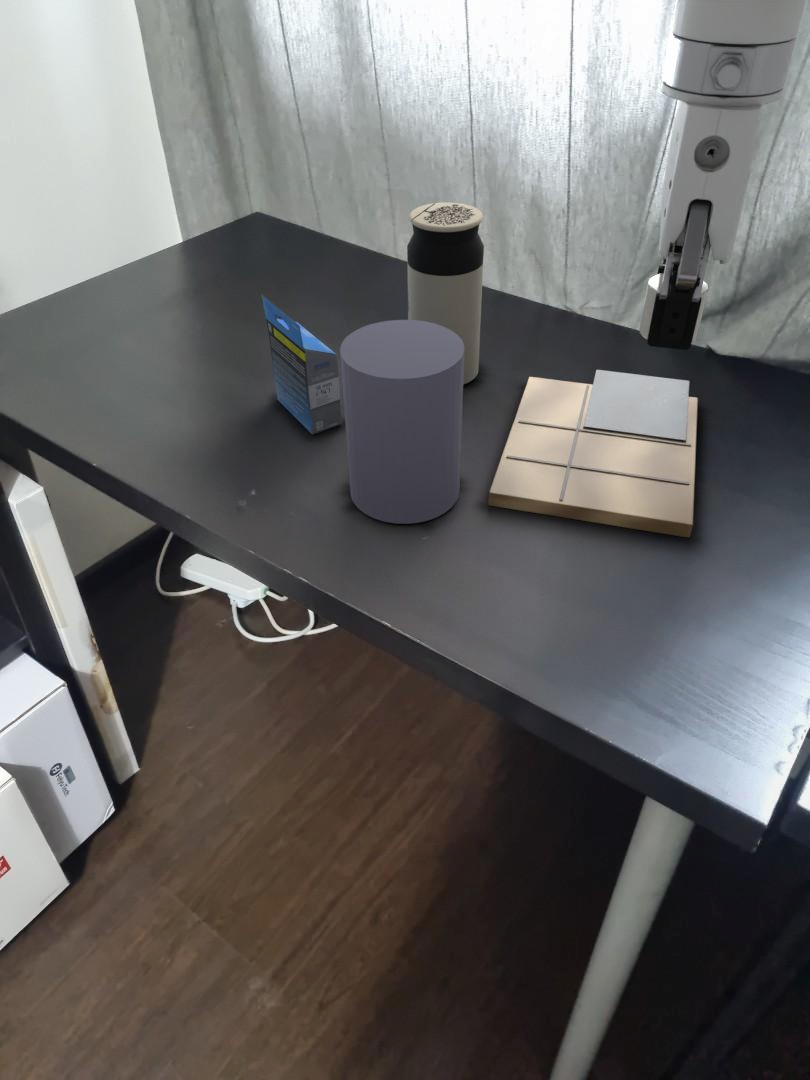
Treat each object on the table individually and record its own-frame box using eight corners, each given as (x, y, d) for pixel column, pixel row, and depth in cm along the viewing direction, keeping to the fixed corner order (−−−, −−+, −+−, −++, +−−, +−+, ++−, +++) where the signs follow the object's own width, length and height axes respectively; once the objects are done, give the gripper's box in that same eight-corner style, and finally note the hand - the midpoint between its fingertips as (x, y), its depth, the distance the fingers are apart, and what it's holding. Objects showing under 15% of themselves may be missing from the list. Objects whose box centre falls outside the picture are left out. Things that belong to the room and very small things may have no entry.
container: (474, 473, 80) (481, 330, 70) (436, 537, 73) (439, 388, 63) (376, 451, 83) (370, 312, 74) (331, 511, 76) (318, 365, 66)
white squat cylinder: (697, 323, 66) (708, 275, 63) (697, 349, 63) (709, 299, 60) (640, 317, 67) (649, 269, 64) (637, 342, 64) (647, 293, 61)
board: (695, 395, 91) (699, 382, 89) (689, 538, 72) (693, 523, 71) (532, 375, 95) (533, 361, 93) (487, 505, 76) (488, 490, 75)
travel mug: (491, 368, 96) (500, 210, 84) (453, 397, 91) (457, 234, 79) (434, 349, 100) (435, 196, 88) (395, 377, 95) (391, 218, 83)
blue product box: (344, 425, 87) (336, 316, 79) (311, 436, 86) (299, 326, 78) (306, 389, 93) (294, 284, 85) (274, 399, 91) (259, 293, 83)
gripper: (799, 103, 46) (720, 391, 58) (778, 44, 58) (717, 291, 70) (660, 96, 47) (611, 378, 59) (668, 40, 60) (627, 282, 72)
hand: (669, 328), depth 65 cm, fingers closed on white squat cylinder, 4 cm apart
